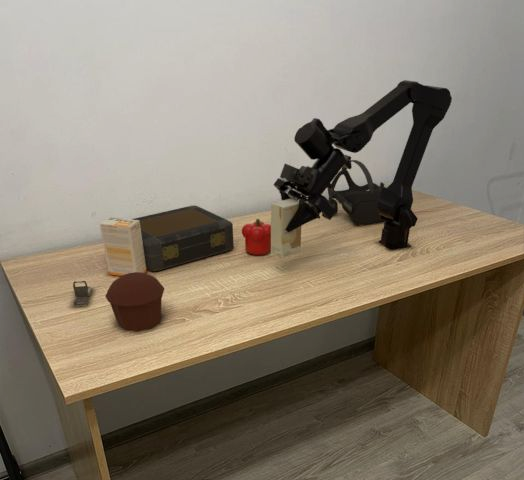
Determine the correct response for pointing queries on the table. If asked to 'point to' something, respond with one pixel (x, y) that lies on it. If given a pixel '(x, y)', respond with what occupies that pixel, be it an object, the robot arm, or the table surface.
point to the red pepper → (257, 238)
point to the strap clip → (81, 294)
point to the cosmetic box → (284, 229)
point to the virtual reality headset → (357, 197)
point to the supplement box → (123, 246)
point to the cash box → (183, 236)
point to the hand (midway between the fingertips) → (281, 227)
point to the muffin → (136, 301)
